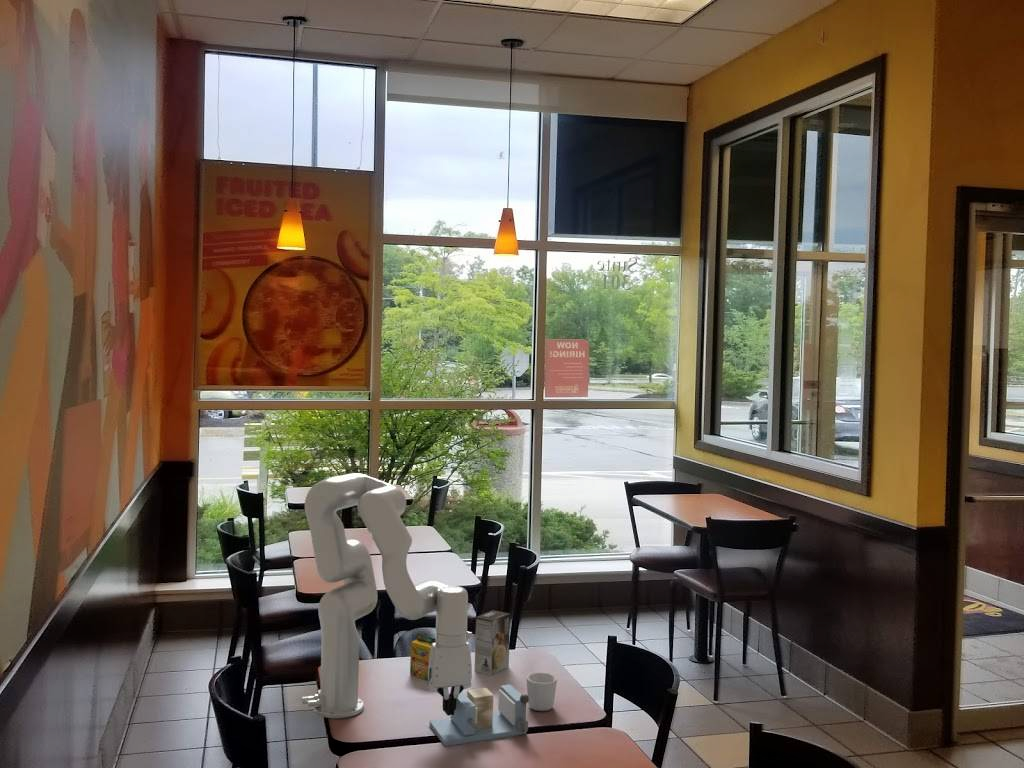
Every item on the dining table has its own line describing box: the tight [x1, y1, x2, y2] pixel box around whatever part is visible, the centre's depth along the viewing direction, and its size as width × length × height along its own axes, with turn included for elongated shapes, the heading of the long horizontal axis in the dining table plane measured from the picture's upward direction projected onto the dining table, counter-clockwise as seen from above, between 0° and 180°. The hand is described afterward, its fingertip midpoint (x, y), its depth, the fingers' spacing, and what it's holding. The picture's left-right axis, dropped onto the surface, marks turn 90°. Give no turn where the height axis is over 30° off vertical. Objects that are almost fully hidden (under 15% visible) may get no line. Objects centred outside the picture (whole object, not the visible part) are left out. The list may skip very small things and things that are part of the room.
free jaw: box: [450, 691, 478, 735], centre depth 219 cm, size 3×14×7 cm, turn 23°
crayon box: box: [409, 632, 436, 682], centre depth 256 cm, size 7×3×12 cm, turn 55°
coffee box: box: [474, 610, 511, 676], centre depth 264 cm, size 9×6×16 cm
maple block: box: [466, 687, 494, 730], centre depth 222 cm, size 5×5×8 cm
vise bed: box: [429, 684, 529, 747], centre depth 221 cm, size 21×14×10 cm
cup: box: [526, 672, 558, 712], centre depth 238 cm, size 11×8×8 cm
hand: (449, 713), depth 219 cm, fingers closed
